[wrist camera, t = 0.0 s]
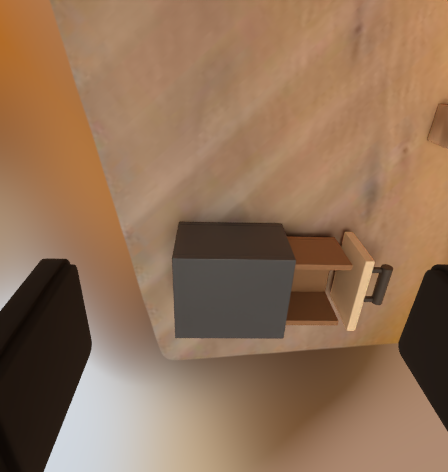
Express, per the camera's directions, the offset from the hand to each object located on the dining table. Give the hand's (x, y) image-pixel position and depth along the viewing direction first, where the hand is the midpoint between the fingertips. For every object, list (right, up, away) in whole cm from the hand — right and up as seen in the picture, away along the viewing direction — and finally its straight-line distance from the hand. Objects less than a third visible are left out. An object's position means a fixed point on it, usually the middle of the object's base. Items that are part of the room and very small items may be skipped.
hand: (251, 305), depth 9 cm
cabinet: (0, -2, +43) cm, 43 cm away
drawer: (+13, -2, +43) cm, 45 cm away
